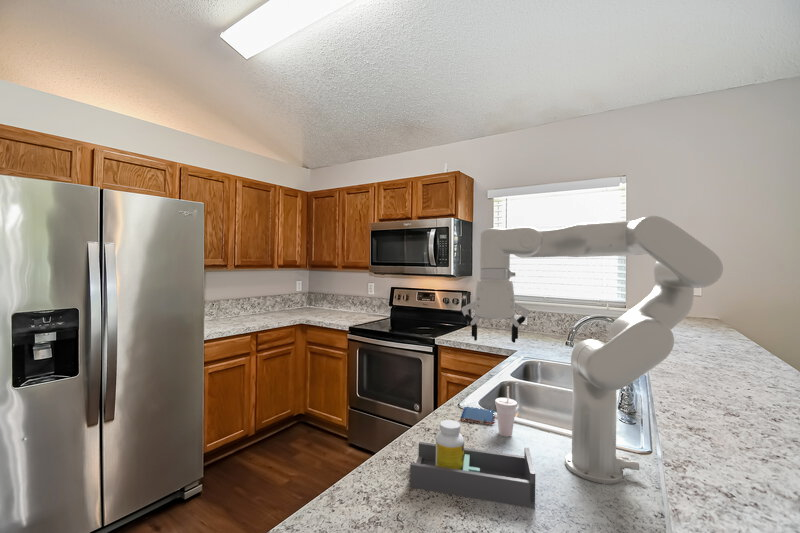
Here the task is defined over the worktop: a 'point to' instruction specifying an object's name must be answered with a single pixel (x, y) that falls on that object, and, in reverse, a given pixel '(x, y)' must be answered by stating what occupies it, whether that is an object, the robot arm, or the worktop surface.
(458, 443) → the pill bottle
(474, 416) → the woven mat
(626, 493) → the worktop surface
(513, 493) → the tray
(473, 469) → the pusher paddle
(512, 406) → the smoothie
